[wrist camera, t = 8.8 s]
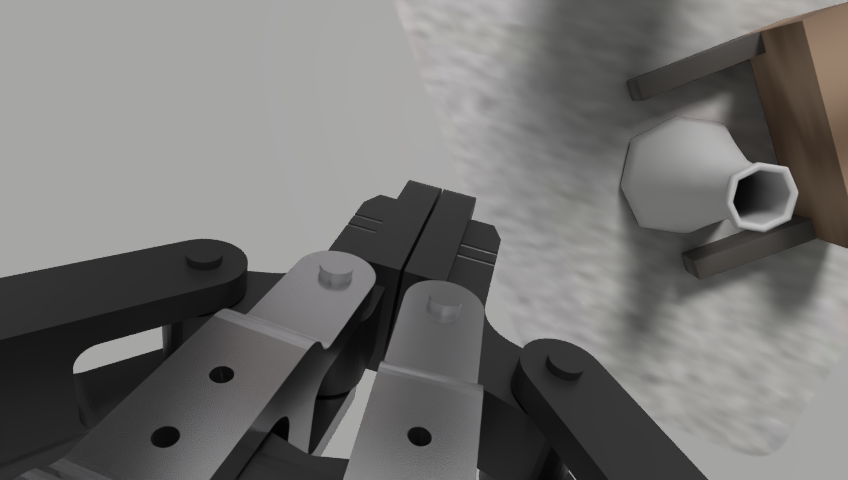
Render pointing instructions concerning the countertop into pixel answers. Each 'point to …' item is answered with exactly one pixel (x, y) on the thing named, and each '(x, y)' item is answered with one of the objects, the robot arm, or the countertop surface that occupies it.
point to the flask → (702, 180)
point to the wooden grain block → (784, 127)
